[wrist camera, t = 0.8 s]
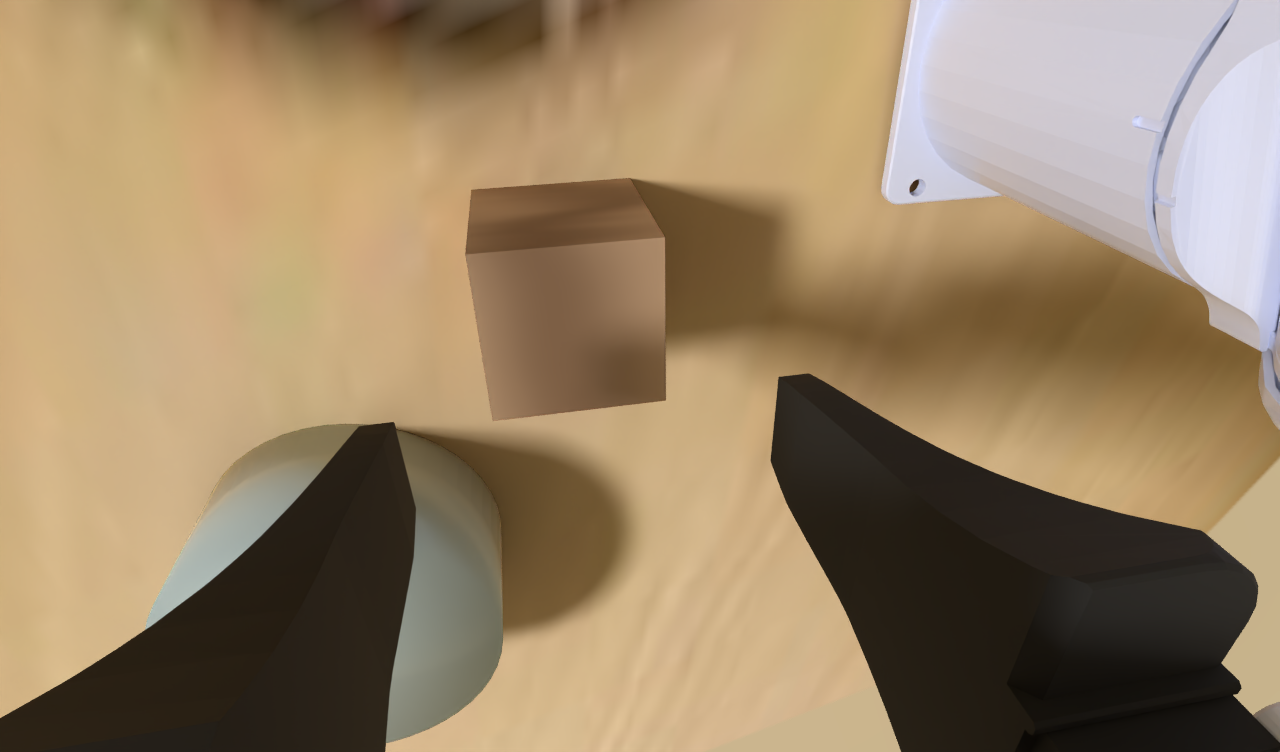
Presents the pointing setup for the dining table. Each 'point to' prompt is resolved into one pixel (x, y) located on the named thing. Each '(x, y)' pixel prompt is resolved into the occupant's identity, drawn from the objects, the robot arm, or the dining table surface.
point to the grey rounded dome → (440, 578)
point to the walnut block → (567, 297)
